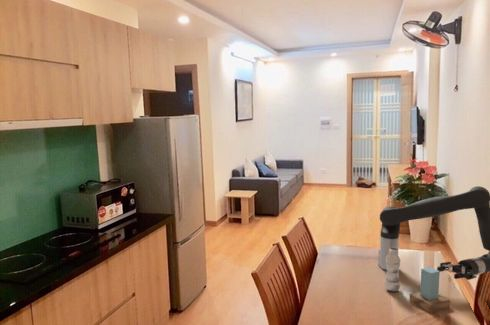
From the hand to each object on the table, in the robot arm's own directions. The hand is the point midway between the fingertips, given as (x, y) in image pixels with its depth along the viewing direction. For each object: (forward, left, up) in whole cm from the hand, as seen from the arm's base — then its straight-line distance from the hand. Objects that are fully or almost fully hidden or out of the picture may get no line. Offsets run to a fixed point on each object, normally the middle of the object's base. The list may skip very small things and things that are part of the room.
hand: (446, 272), depth 165 cm
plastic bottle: (-17, -14, -13) cm, 25 cm away
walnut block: (0, -10, -13) cm, 16 cm away
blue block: (0, -10, -9) cm, 13 cm away
